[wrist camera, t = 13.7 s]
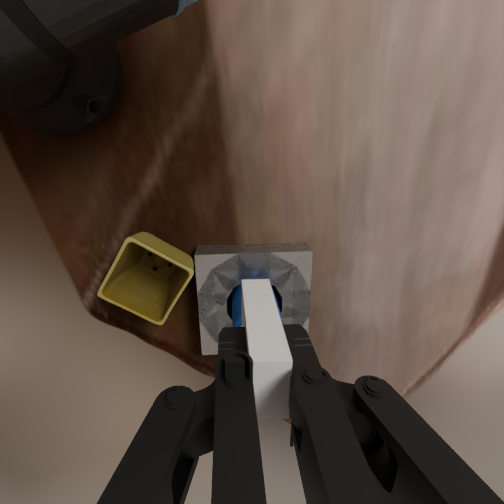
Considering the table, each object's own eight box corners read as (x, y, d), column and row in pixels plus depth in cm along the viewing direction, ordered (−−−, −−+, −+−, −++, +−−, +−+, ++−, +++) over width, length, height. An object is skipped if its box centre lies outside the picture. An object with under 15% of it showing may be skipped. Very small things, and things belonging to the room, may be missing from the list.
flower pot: (146, 217, 44) (127, 235, 36) (201, 248, 46) (195, 272, 38) (119, 267, 46) (95, 295, 38) (173, 294, 48) (161, 327, 40)
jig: (204, 339, 51) (202, 355, 48) (197, 245, 46) (194, 255, 42) (301, 334, 52) (307, 349, 49) (305, 242, 47) (312, 251, 43)
